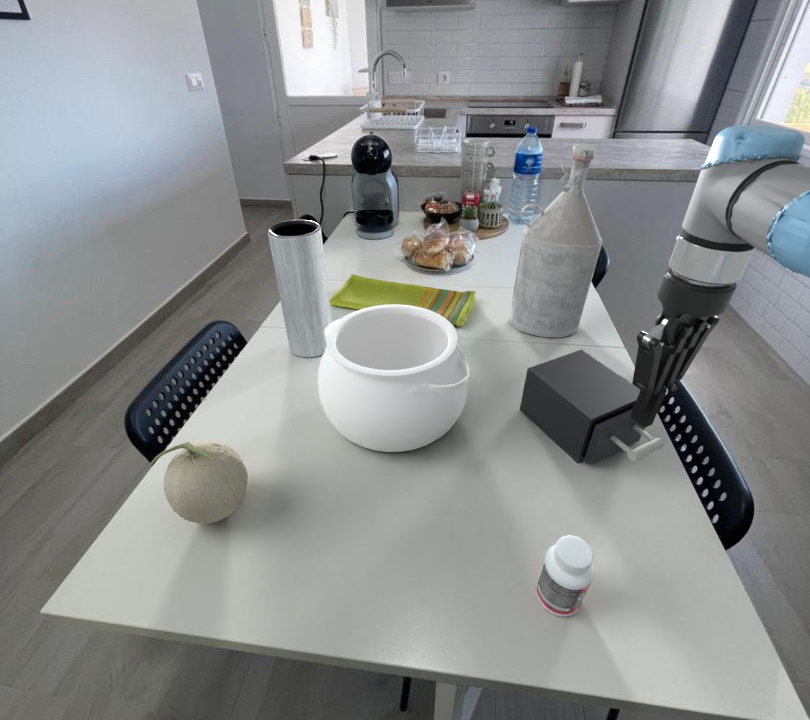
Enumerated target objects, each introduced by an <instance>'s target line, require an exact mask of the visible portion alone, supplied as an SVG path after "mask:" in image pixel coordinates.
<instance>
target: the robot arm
mask: <svg viewBox="0 0 810 720" xmlns="http://www.w3.org/2000/svg"><path fill="white" fill-rule="evenodd" d="M805 143H806V139H805V136H804V135H803V134H802V132H800V131H797V130H795V129H791V128H786V127H778V126H769V125H733V126H728V127H726V128H724V129H722V130H721V131H719V132H718V133H717V134H716V136H715V137H714V139H713V142H712V144H711V147H710V149H709V151H708V154H707V156H706V159H705V160H704V161H705V162H704V163H702V165H701V167H700V172H699V175H698V178H697V181H696V184H695V187H694V190H693V192H692V194H691V195H692V196H691V198H690V201H689V204H688V207H687V209H686V212H685V215H684V218H683V221H682V225H681V229H680V232H679V234H678V236H677V237H676V238H675V245H674V248H673V250H672V253H671V255H670V258H669V261H668V268H667V269H665V271H664V274H663V276H662V279H661V282H660V284H659V287H658V290H657V298H658V301H659V303H660V304H661V307H662V309H661V311H660V312H659V314H658V315H657V317H656V318H655V321H654V327H653V328H652V329H651V330H650V331H649V332H648V333H647V332H645V331H644V330H641V331H639V332H638V333H637V335H636V341H637V345H638V348H637V353H636V358H635V364H634V370H633V374H632V375H633V376H632V381H631V383H632V384H633V385H634V386H636V387H637V388H639V389H640V392H639V395H638V398H637V400H636V403H635V405H634V408H633V410H632V413H631V415H630V417H632V418H633V419H634V420H636V421H637V422H638V423H640V424H641V425H642V426H644V427H645V428H648V427H650V426H652V425H653V424H654V422H655V419H656V417H657V415H658V412H659V410H660V408H661V406H662V403H663V401H664V398H665V396H666V394H667V391H668V390H670V391H671V392H675V391H676V390H678V388H679V386H678V385H677V384H675V381H677V382H680V381H681V380H682V379H683V378H684V376H685V374H686V373H687V371H688V369H690V367H691V365H692V363H693V362H694V360H695V358H696V356H697V355H698V353H699V351H700V350H701V348H702V347H703V345H704V343H705V341H706V340H707V338H708V336H709V335H710V333H712V331H713V330H714V329H715V328H716V327H717V325H718V324H719V322H720V320H721V318H720V317H718V316H720V315H722V314H723V313H725V311H726V310H727V308H728V306H729V304H730V302H731V300H732V298H733V296H734V293H735V291H736V289H737V287H738V285H737V282H740V281H741V280H742V279H743V276H744V274H745V271H746V269H747V267H748V265H749V263H750V261H751V258H752V256H753V254H754V252H755V249H756V250H758V251H760V252H761V253H762V254H764V255H766V256H767V257H769V258H770V259H772V260H774V261H775V262H776V263H777V264H779V265H780V266H781V267H783V268H784V269H788V270H789V271H791V272H793V273H796V274H799V275H802V276H804V277H806V278H808V279H810V166H807V165H805V164H803V163H800V162H799V160H800V159H801V156H802V155H801V154H802V150H803V147H804V144H805ZM645 428H644V429H645Z"/></svg>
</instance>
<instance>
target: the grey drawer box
mask: <svg viewBox="0 0 810 720" xmlns="http://www.w3.org/2000/svg"><path fill="white" fill-rule="evenodd" d="M522 390H523V391H522V396H521V399H520V406H519V411H520V412H521V413H522V414H524V415H525V416H526V417H527V418H528V419H529V420H530V421H531V422H532V423H533V424H534V425H536V426H537V428H539V429H540V430H541V431H542V432H543V433H544V434H545V435H546V436H547V437H549V439H551V440H552V441H553V442H554V443H555V444H556V445H557V446H558V448H560V449H561V450H563V452H565V454H567V455H568V456H569V457H570V458H571V459H572V460H573V461H574V462H575V463H576V464H579V463H581V462H583V461H584V458H585V455H586V452H587V449H586V450H585V447H586V444H587V441H588V438H589V435H590V432H591V429H592V426H593V423H594V422H595V421H597V420H599V419H601V418H604V417H606V416H608V415H611V414H613V413H615V412H617V411H620V410H622V409H624V408H627V407H629V406H631V405H634V404H635V403H636V400H637V398H638V395H639V392H640V389H639V388H637V387H636V386H634V385H633V384H632V381H629V380H628V379H627V378H625V377H623V376H621V375H620V374H619V373H618V372H616V371H614V370H613V369H612V368H610V367H608V366H607V365H606V364H604V363H602V362H601V361H600V360H598V359H597V358H595V357H593V356H592V355H591V354H589V353H587V352H586V351H585V350H583V349H579V350H576V351H573V352H570V353H567V354H564V355H562V356H559V357H555V358H552V359H550V360H547V361H545V362H542V363H539V364H536V365H533V366H530V367H527V369H526V373H525V380H524V385H523V389H522Z"/></svg>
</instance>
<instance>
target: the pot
mask: <svg viewBox="0 0 810 720" xmlns="http://www.w3.org/2000/svg"><path fill="white" fill-rule="evenodd" d="M324 334H325V339H326V344H327V347H326V348H325V352H324V354H323V355H321V358H320V361H319V365H318V366H319V367H318V372H317V389H318V390H317V391H318V398H319V402H320V406H321V408H322V410H323V412H324V414H325V416H326V418H327V420H328V421H329V423H330V424H331V425H332V426H333V428H335V430H336V431H337V432H338V433H339V434H340V435H341V436H342V437H344V438H345V439H347V440H348V441H349V442H351V443H354V444H356V445H358V446H360V447H363V448H365V449H369V450H373V451H377V452H384V453H402V452H409V451H414V450H417V449H419V448H423V447H425V446H428V445H430V444H432V443H433V442H435V441H437V440H440V439H441V438H442V437H443V436H445V434H447V433H448V432H449V431H450V430H451V428H452V427H453V426H454V425H455V423H456V422H457V421H458V420H459V418H460V417H461V414H462V413H463V410H464V407H465V406H466V405H465V404H466V402H467V399H468V394H469V382H470V381H469V380H470V377H471V367H470V366H469V363H468V361H466V358H465V354H464V352H463V351H462V349H461V347H460V346H459V344H458V341H459V336H458V332H457V330H456V328H455V326H453V325H452V324H451V323H450V322H449V321H448V320H447V319H446V318H444V317H443V316H441V315H439V314H437V313H435V312H433V311H430V310H427V309H424V308H420V307H415V306H410V305H380V306H373V307H368V308H364V309H361V310H358V309H357V310H355V311H352V312H350V313H348V314H346V315H344V316H342V317H341V318H338V319H335V320H332V323H330V324H329V325H328V326H327V327H326V328H325V330H324Z"/></svg>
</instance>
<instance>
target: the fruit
mask: <svg viewBox="0 0 810 720" xmlns="http://www.w3.org/2000/svg"><path fill="white" fill-rule="evenodd" d="M180 449H181V450H180ZM176 450H180V451H179V452H177V453H176V454H175V455H174V456H173V457H172V459H171V460H170V462H169V463H168V465H167V468H166V470H165V473H164V477H163V492H164V496H165V498H166V501H167V503H168V504H169V506H170V508H171V509H172V510H173V512H174V513H176V514H177V515H178V517H180V518H182V519H183V520H185V521H188V522H191V523H195V524H210V523H216V522H218V521H221V520H223V519H225V518H227V517H229V516H230V515H231V514H233V513H234V512H235V510H237V509H238V507H240V504H241V503H242V501H243V500H244V498H245V496H246V492H247V489H248V479H249V478H248V475H249V474H248V470H247V467H246V466H245V465H246V464H245V463H244V460H242V458H241V456H240V455H239V454H238V453H237V452H236V451H235V450H234V449H233V448H232V447H231V446H229V445H227V444H225V443H222V442H219V441H199V442H196V443H192V442H191V441H187V442H184V443H180V444H177V445H174V446H172V447H170V448H167V449H165V450H163V451H161V452H160V453H158V454H157V455H156V456H154V458H153V459H152V461H151V462H150V464H149V465H150V467H152V466H153V465H154V463H156V461H158V459H160V458H161V457H163V456H164V455H166V454H169V453H170V452H173V451H176Z"/></svg>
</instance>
